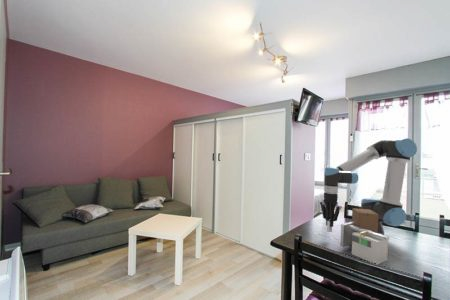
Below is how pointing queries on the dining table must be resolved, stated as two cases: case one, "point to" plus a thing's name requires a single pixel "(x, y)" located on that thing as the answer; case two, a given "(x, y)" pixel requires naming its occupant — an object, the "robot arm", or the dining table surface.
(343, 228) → the gauge plunger
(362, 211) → the wooden block
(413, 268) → the dining table surface
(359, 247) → the white box
